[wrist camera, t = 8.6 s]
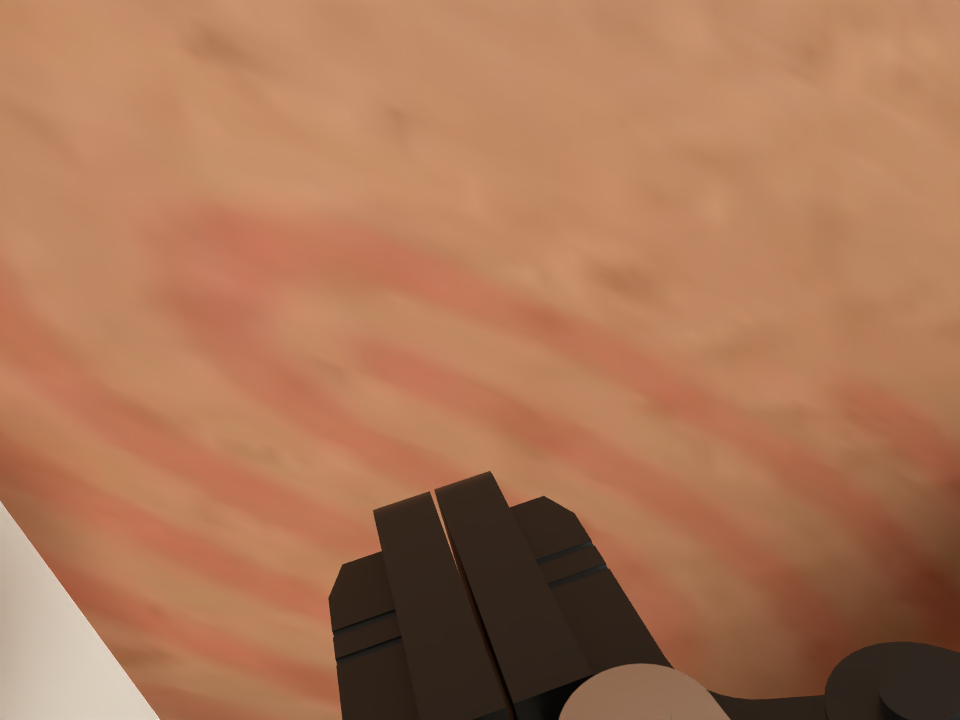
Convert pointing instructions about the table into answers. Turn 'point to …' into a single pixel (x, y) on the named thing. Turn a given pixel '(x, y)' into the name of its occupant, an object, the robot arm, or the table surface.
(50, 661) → the gate
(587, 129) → the table surface
